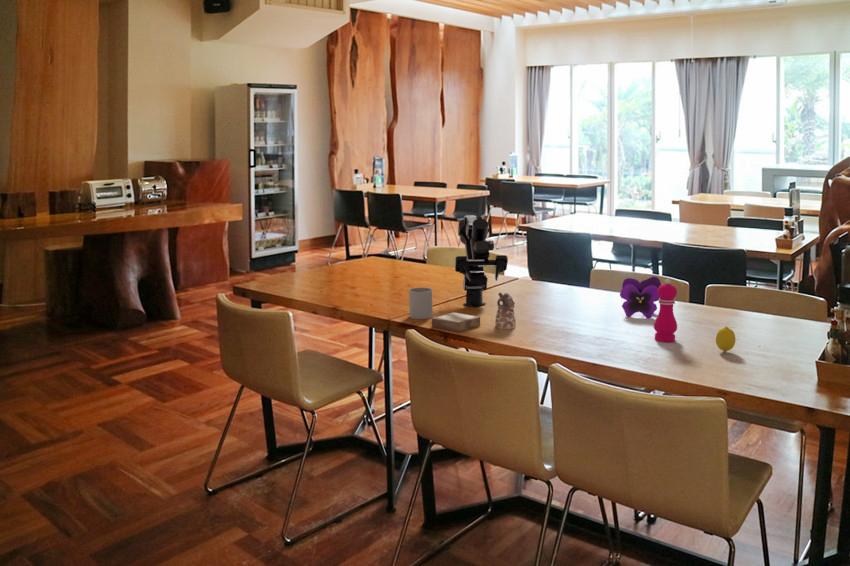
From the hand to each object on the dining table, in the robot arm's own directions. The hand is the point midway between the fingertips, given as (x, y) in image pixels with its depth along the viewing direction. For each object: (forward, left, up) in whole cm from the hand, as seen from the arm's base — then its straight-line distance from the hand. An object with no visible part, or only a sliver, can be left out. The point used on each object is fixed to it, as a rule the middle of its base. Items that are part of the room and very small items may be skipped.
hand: (483, 280), depth 272 cm
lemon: (-15, +80, -15) cm, 83 cm away
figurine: (+1, +10, -15) cm, 18 cm away
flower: (-45, +38, -15) cm, 61 cm away
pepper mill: (-17, +60, -15) cm, 65 cm away
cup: (+8, -23, -15) cm, 28 cm away
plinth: (+11, -4, -15) cm, 19 cm away
